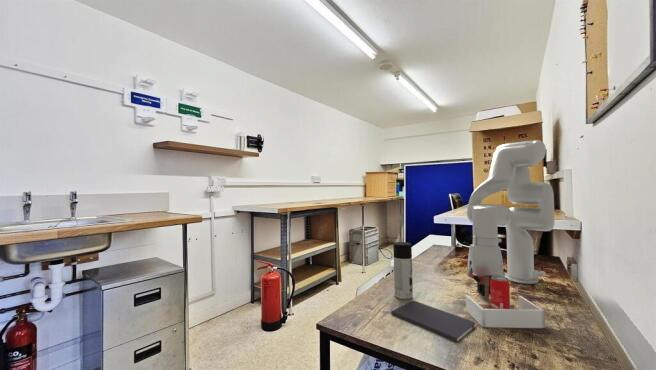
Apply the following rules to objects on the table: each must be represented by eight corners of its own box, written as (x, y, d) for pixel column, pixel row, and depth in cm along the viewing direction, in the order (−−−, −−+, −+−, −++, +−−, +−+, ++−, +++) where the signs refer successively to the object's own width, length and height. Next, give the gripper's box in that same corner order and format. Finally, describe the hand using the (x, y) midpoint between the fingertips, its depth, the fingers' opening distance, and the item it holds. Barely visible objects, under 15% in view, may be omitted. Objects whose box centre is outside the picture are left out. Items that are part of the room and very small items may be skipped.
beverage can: (487, 312, 88) (486, 275, 88) (502, 312, 88) (502, 275, 88) (497, 320, 83) (496, 281, 83) (514, 319, 83) (513, 280, 83)
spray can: (413, 300, 98) (412, 245, 98) (394, 299, 99) (393, 244, 100) (411, 293, 105) (411, 241, 105) (393, 292, 106) (393, 241, 106)
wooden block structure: (498, 300, 97) (498, 269, 97) (514, 312, 88) (514, 278, 88) (464, 300, 98) (463, 269, 98) (476, 311, 89) (476, 278, 89)
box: (521, 311, 89) (520, 295, 89) (545, 328, 78) (545, 310, 78) (466, 310, 90) (465, 295, 90) (482, 327, 79) (482, 310, 79)
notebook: (391, 315, 88) (457, 344, 72) (391, 310, 88) (457, 338, 72) (413, 304, 96) (476, 327, 80) (413, 300, 96) (476, 322, 80)
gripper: (502, 239, 97) (503, 290, 97) (456, 239, 98) (457, 290, 98) (515, 244, 90) (517, 299, 90) (466, 244, 91) (467, 298, 91)
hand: (486, 294), depth 94 cm, fingers closed on wooden block structure, 2 cm apart
